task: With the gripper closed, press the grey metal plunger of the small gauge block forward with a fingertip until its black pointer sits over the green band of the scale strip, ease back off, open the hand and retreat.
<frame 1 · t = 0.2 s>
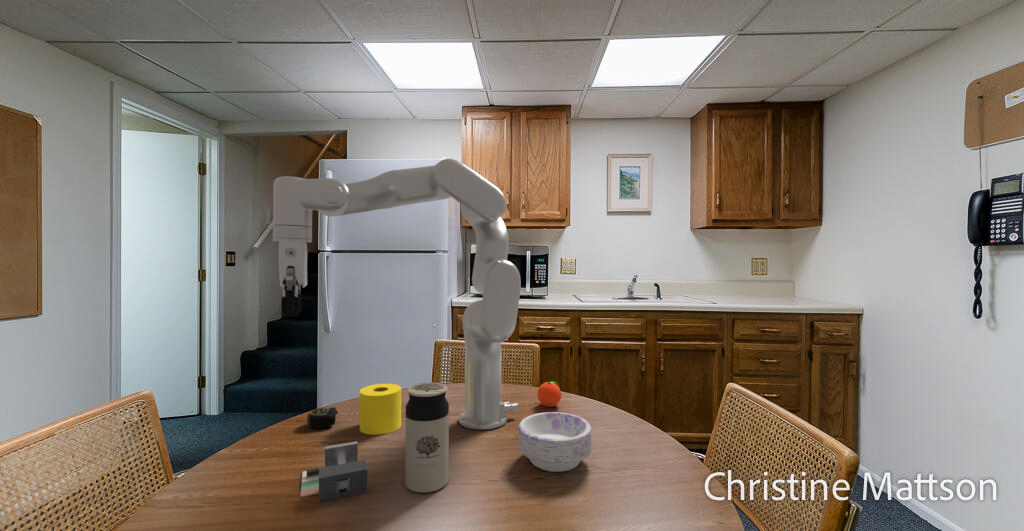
hand: (292, 313, 91), 30 cm above the table, fingers open, 9 cm apart
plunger: (333, 469, 78), point 3 cm above the table, slide at 0.0 cm
paper bowls: (554, 462, 88), on the table
tape roll: (380, 427, 106), on the table
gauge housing: (343, 491, 76), on the table
tape measure: (325, 425, 107), on the table
travel mug: (427, 483, 79), on the table
scale strip: (311, 481, 79), on the table
clementine: (550, 406, 122), on the table
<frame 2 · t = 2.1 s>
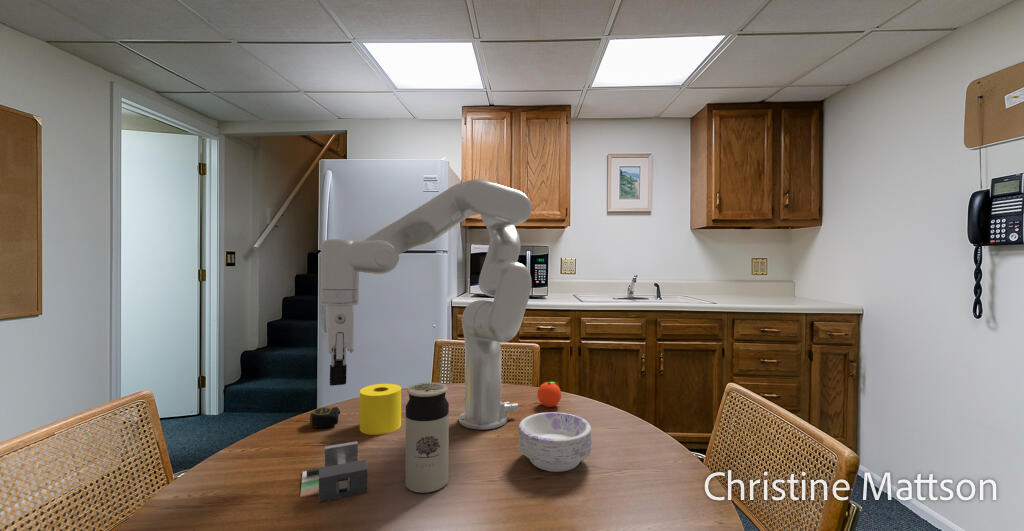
hand: (337, 383, 89), 16 cm above the table, fingers closed
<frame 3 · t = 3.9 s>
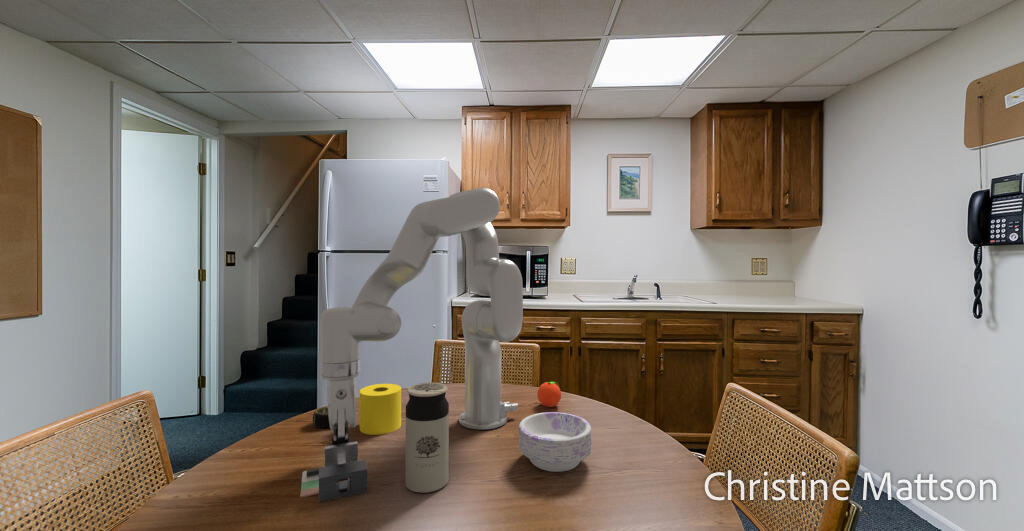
hand: (340, 457, 86), 2 cm above the table, fingers closed
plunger: (333, 469, 78), point 3 cm above the table, slide at 0.0 cm, touching gripper
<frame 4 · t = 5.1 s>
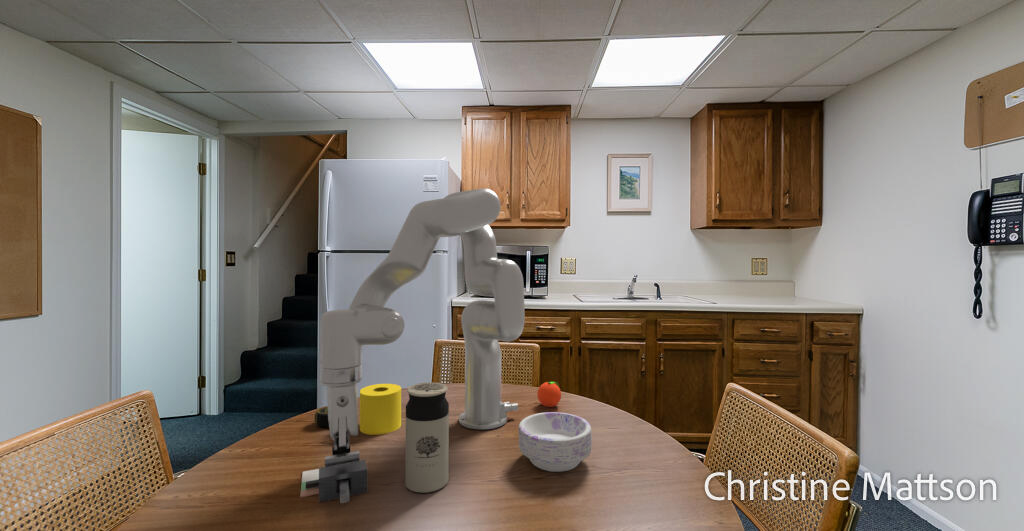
hand: (341, 467, 82), 2 cm above the table, fingers closed
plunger: (333, 481, 74), point 3 cm above the table, slide at 4.7 cm, touching gripper
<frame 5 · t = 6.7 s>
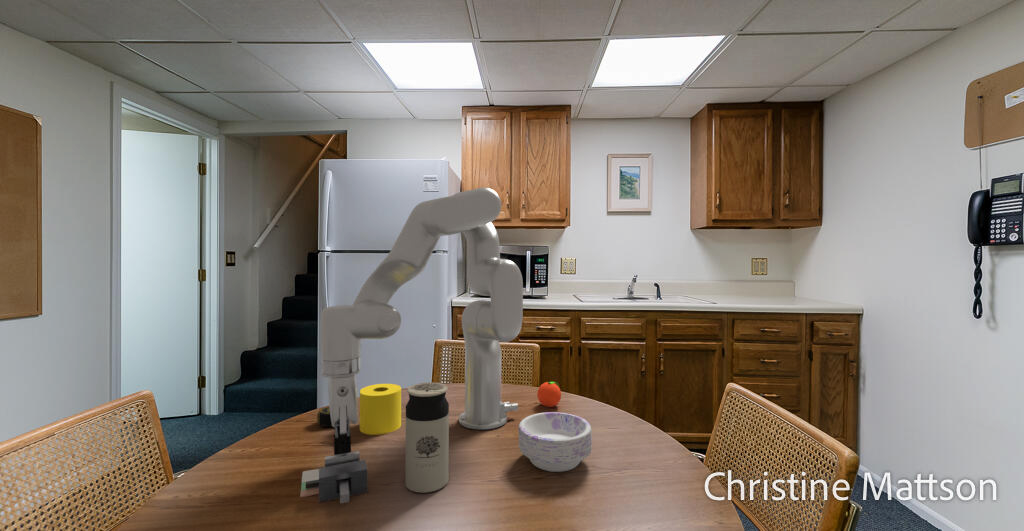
hand: (342, 453, 87), 2 cm above the table, fingers closed
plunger: (333, 481, 74), point 3 cm above the table, slide at 4.7 cm
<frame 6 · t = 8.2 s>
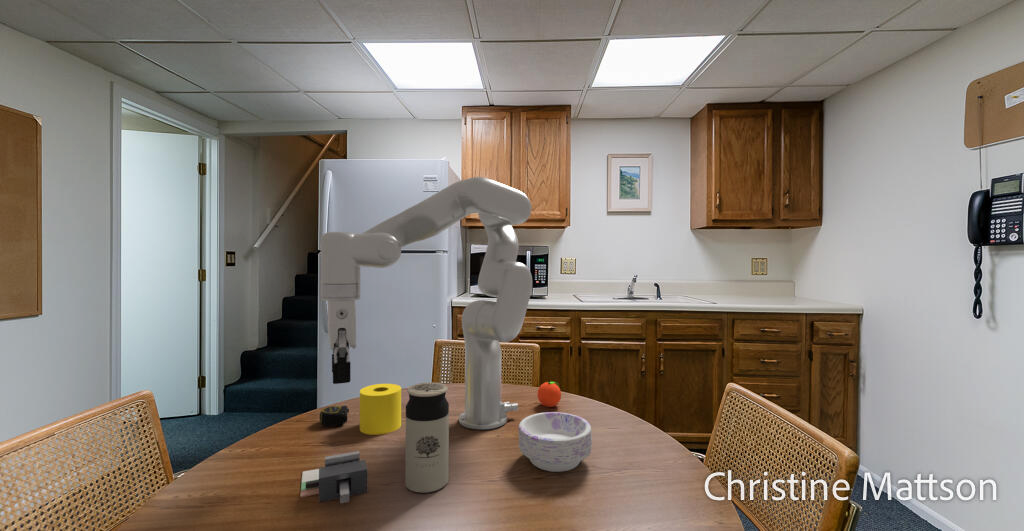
hand: (340, 376, 86), 18 cm above the table, fingers open, 8 cm apart
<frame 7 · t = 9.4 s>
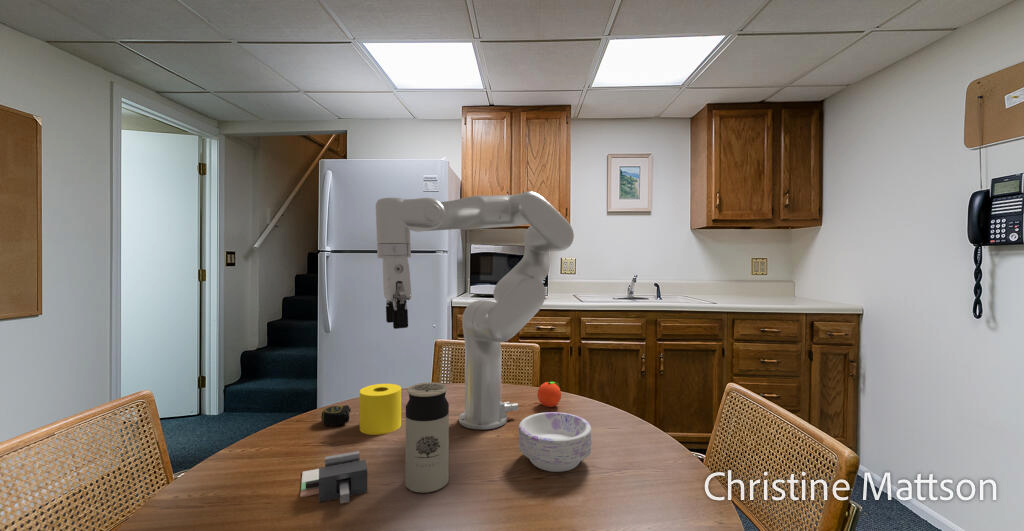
hand: (396, 324, 98), 27 cm above the table, fingers open, 9 cm apart
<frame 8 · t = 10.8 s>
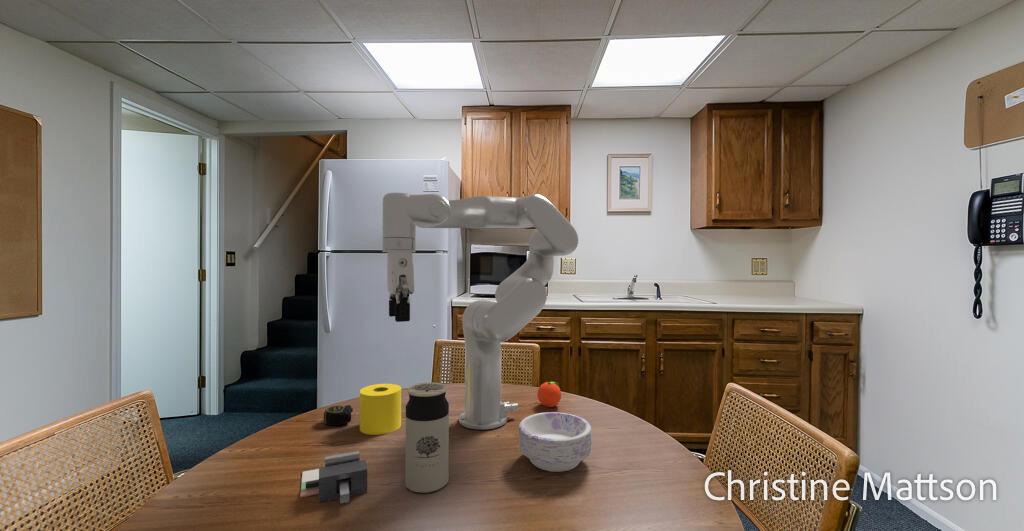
hand: (398, 318, 99), 28 cm above the table, fingers open, 9 cm apart
at the end: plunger slide at 4.7 cm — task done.
